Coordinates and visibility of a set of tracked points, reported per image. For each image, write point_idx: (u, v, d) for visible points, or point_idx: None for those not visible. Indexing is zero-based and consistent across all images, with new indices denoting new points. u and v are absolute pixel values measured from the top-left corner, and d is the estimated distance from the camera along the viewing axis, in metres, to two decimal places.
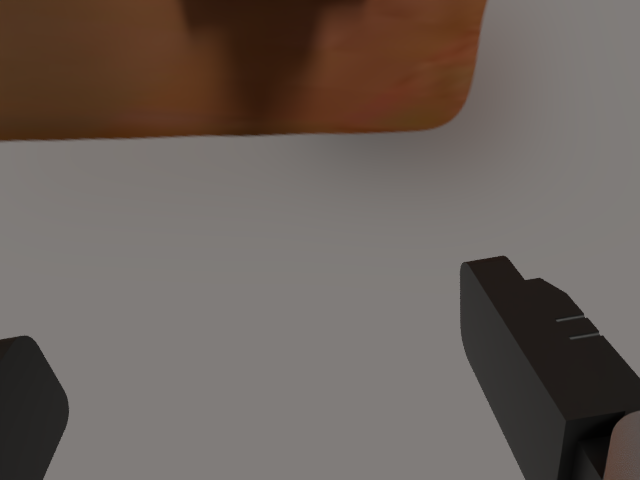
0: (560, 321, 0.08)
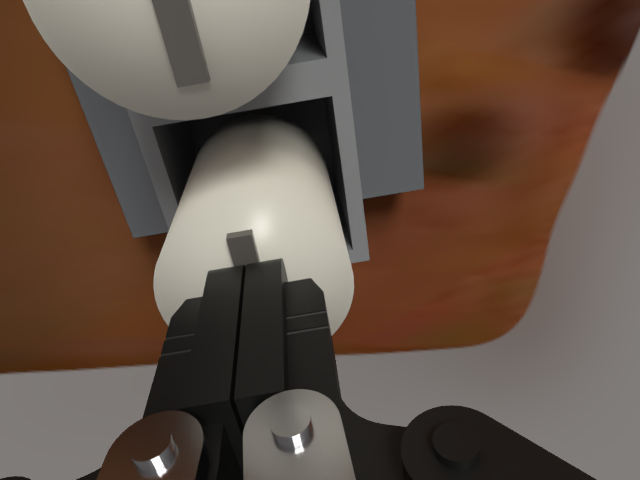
0: (304, 316, 0.09)
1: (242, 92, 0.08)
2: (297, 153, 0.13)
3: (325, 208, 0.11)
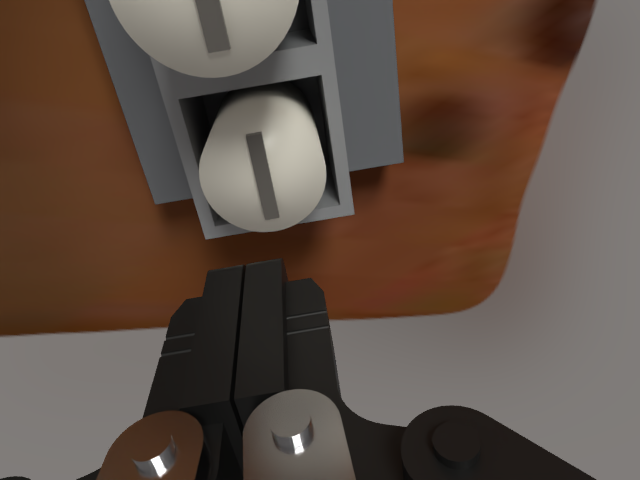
0: (304, 316, 0.09)
1: (252, 57, 0.12)
2: (290, 96, 0.19)
3: (308, 125, 0.17)
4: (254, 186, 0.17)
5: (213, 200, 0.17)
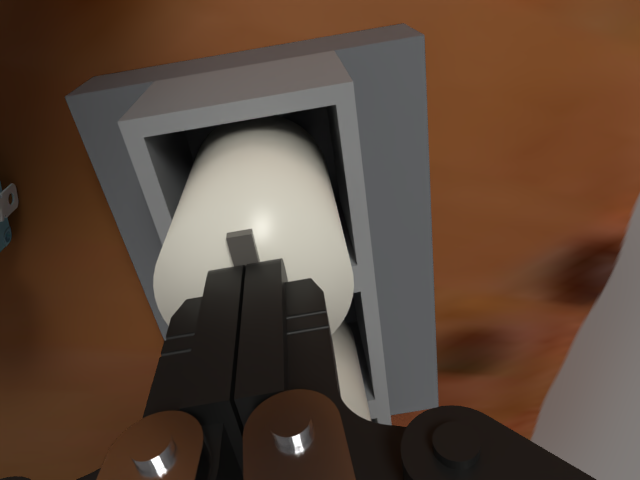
0: (304, 316, 0.09)
1: None
2: None
3: None
4: None
5: None
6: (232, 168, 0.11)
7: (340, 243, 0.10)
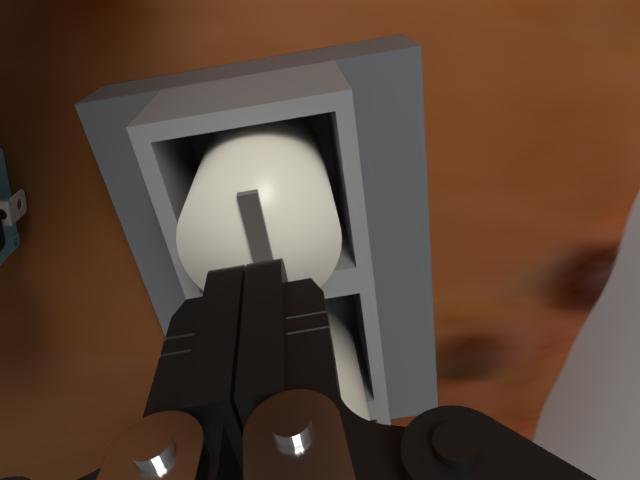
0: (304, 316, 0.09)
1: None
2: None
3: None
4: None
5: None
6: (241, 144, 0.13)
7: (330, 202, 0.12)
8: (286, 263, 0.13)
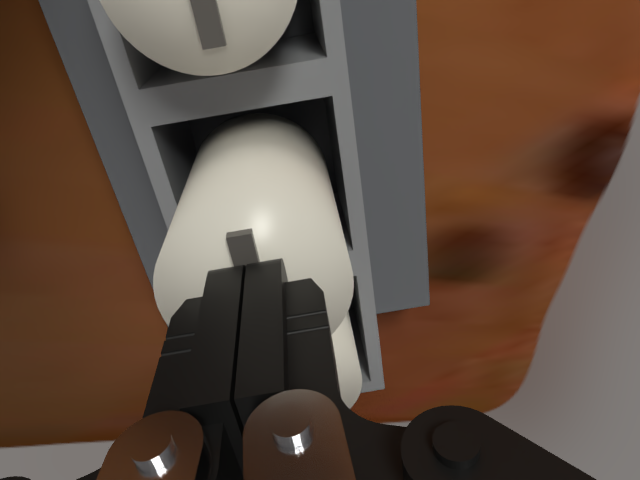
0: (304, 316, 0.09)
1: None
2: None
3: (343, 329, 0.16)
4: None
5: None
6: None
7: None
8: (231, 1, 0.10)
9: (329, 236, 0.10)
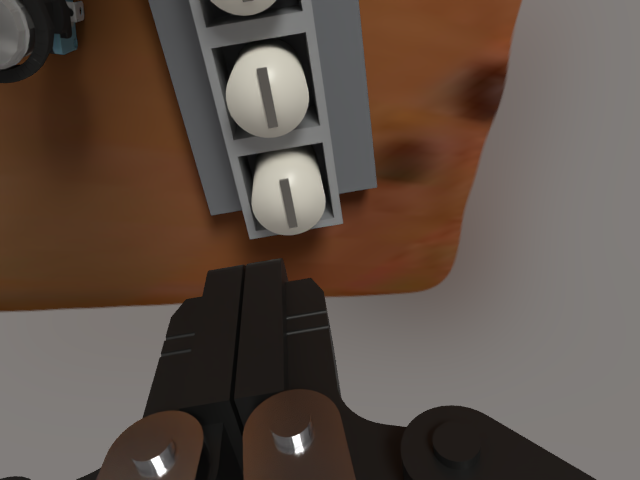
0: (304, 316, 0.09)
1: (287, 129, 0.26)
2: (303, 152, 0.30)
3: (314, 172, 0.29)
4: (283, 209, 0.28)
5: (259, 216, 0.29)
6: None
7: None
8: None
9: (297, 71, 0.25)
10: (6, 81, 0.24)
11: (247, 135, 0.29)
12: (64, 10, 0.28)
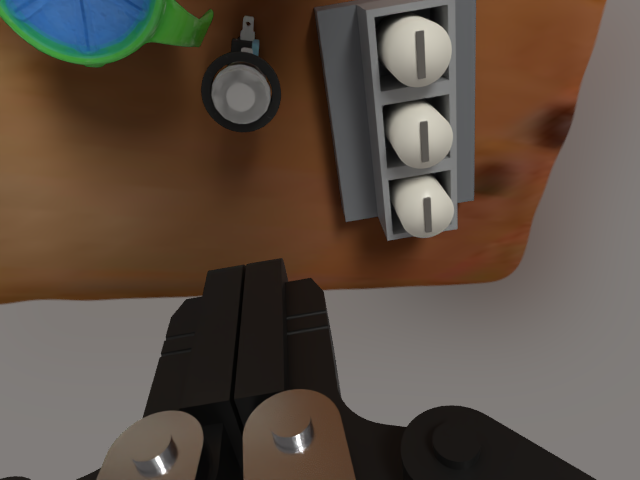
0: (304, 316, 0.09)
1: (434, 162, 0.37)
2: (431, 175, 0.41)
3: None
4: (423, 218, 0.39)
5: (404, 224, 0.39)
6: (410, 18, 0.33)
7: (448, 36, 0.32)
8: (428, 64, 0.33)
9: (447, 123, 0.35)
10: (245, 131, 0.35)
11: (395, 164, 0.39)
12: (264, 74, 0.39)
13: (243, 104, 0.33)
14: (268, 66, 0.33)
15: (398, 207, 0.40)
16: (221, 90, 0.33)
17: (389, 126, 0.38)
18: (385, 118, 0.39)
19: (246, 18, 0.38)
